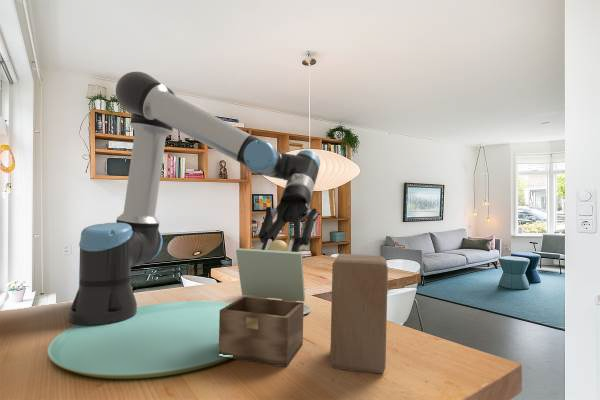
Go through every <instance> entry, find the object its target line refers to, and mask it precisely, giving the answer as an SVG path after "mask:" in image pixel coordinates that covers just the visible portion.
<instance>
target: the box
mask: <svg viewBox="0 0 600 400" xmlns="http://www.w3.org/2000/svg"><path fill="white" fill-rule="evenodd" d="M304 305H305V302H303V301H297V302H294V301H284V300H282V299H274V298H264V297H255V296H245V295H242V296H241V297H239V298H238V299H236V300H235V301H233V302H231V303H230V304H228V305H225V306H224V307H223V308H221V309H219V313H218V314H219V320H218V321H219V323H218V354H223V355H233V360H239V361H247V362H252V363H259V364H264V365H271V366H277V367H283V368H284V367H285V368H287V367H288V366H289V364H290V363H291V362H292V361H293V359H294V358H295V356H296V354H297V353H298V352H299V351H300V349H301V348H302V347H303V346H304V345H303V342H304V341H303V340H304V339H303V338H304V337H303V336H304V315H303V309H304Z"/></svg>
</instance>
